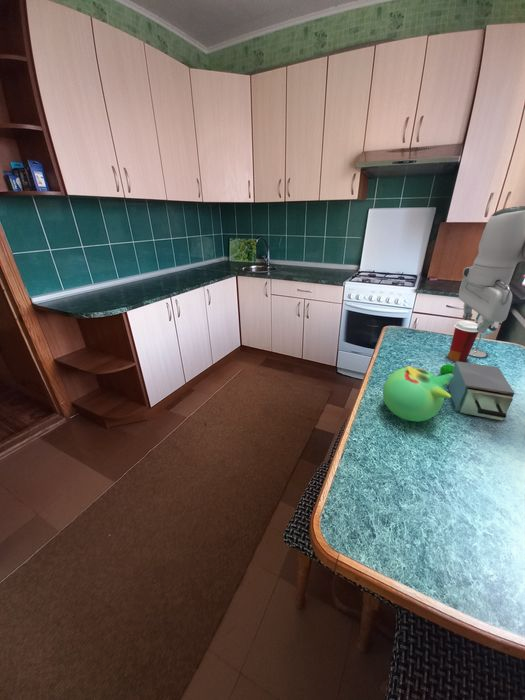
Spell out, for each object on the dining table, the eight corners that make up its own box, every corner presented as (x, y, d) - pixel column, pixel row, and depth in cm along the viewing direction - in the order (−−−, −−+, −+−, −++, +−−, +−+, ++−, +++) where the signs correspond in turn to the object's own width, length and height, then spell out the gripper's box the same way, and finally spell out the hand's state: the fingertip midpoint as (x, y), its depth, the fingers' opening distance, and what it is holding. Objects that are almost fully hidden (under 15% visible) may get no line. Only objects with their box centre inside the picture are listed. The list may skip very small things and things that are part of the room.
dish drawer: (508, 433, 78) (520, 410, 74) (464, 424, 81) (472, 401, 78) (489, 394, 93) (497, 373, 90) (452, 387, 97) (458, 367, 93)
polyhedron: (447, 381, 101) (451, 370, 99) (435, 375, 105) (438, 363, 103) (457, 378, 103) (461, 367, 101) (445, 372, 107) (448, 360, 105)
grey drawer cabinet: (502, 419, 84) (514, 392, 79) (456, 411, 88) (465, 384, 83) (487, 391, 96) (498, 367, 91) (447, 385, 100) (455, 361, 95)
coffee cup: (467, 356, 117) (479, 321, 110) (470, 365, 111) (483, 329, 104) (443, 352, 120) (454, 318, 113) (445, 361, 114) (456, 326, 107)
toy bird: (386, 389, 98) (394, 351, 91) (443, 405, 90) (456, 364, 83) (373, 420, 85) (382, 378, 78) (439, 442, 77) (455, 397, 70)
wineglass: (459, 349, 122) (474, 304, 113) (475, 347, 123) (491, 302, 114) (474, 358, 115) (492, 311, 106) (491, 356, 117) (510, 309, 107)
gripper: (527, 287, 66) (505, 341, 72) (485, 268, 84) (470, 313, 90) (496, 286, 67) (477, 340, 73) (461, 267, 85) (448, 312, 91)
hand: (473, 325), depth 82 cm, fingers open, 8 cm apart
